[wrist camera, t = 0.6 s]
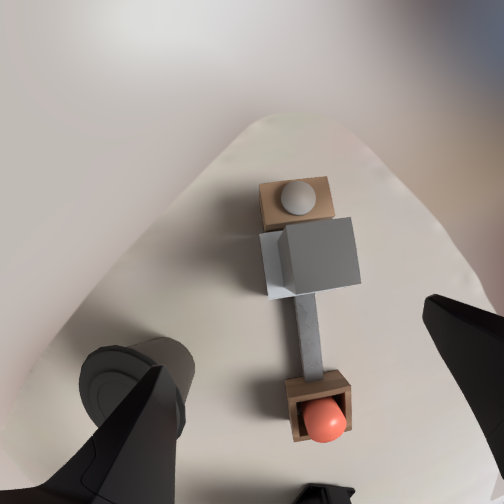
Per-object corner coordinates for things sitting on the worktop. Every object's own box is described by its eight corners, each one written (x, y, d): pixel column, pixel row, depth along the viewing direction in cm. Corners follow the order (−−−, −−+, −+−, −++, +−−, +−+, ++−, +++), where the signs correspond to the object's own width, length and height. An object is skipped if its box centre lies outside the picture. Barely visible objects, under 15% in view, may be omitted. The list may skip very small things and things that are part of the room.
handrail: (320, 374, 23) (323, 380, 21) (302, 377, 23) (305, 384, 21) (301, 229, 24) (304, 226, 22) (283, 232, 24) (285, 229, 22)
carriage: (335, 285, 23) (383, 293, 13) (267, 296, 24) (273, 313, 14) (326, 229, 24) (368, 201, 14) (259, 238, 24) (258, 214, 14)
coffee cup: (137, 399, 23) (88, 447, 13) (123, 323, 24) (59, 345, 14) (215, 402, 23) (192, 465, 13) (204, 321, 24) (168, 351, 14)
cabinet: (340, 410, 23) (351, 430, 19) (289, 420, 23) (293, 442, 19) (338, 369, 23) (350, 385, 19) (284, 379, 23) (288, 398, 19)
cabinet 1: (320, 227, 24) (337, 214, 18) (264, 234, 24) (265, 223, 19) (314, 194, 24) (328, 173, 19) (259, 201, 24) (259, 181, 19)
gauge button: (334, 415, 21) (346, 437, 17) (302, 422, 21) (308, 445, 17) (333, 387, 21) (346, 407, 17) (299, 394, 21) (306, 415, 17)
